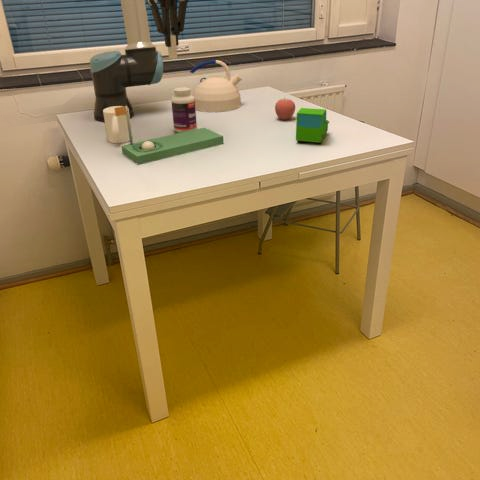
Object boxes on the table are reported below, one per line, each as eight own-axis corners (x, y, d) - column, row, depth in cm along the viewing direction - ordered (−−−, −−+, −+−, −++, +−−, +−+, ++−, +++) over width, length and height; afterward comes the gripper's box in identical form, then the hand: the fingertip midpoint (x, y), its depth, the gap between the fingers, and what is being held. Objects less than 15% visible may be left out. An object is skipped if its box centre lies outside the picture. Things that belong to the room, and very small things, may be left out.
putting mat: (122, 153, 149) (121, 145, 148) (204, 134, 164) (204, 127, 162) (138, 164, 141) (137, 156, 139) (223, 143, 155) (223, 136, 154)
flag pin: (120, 146, 147) (114, 107, 141) (132, 144, 149) (126, 105, 143) (121, 147, 147) (115, 108, 141) (133, 144, 149) (127, 106, 143)
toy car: (331, 133, 161) (333, 104, 156) (324, 146, 151) (326, 114, 145) (301, 131, 164) (302, 102, 159) (292, 143, 154) (293, 112, 148)
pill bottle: (193, 134, 164) (190, 92, 157) (171, 134, 165) (166, 91, 158) (199, 127, 171) (196, 86, 163) (178, 127, 172) (174, 86, 165)
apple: (272, 121, 176) (272, 99, 172) (278, 115, 181) (278, 94, 177) (291, 122, 173) (292, 100, 169) (297, 117, 179) (297, 95, 175)
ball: (147, 156, 150) (137, 149, 147) (153, 146, 151) (143, 138, 148) (153, 156, 147) (142, 149, 144) (159, 145, 147) (149, 138, 145)
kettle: (242, 112, 188) (240, 63, 179) (189, 113, 188) (185, 65, 179) (242, 99, 205) (241, 54, 196) (194, 100, 206) (191, 56, 197)
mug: (129, 105, 160) (126, 114, 150) (133, 135, 165) (130, 146, 155) (104, 106, 159) (99, 116, 149) (109, 136, 165) (104, 147, 154)
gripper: (150, -30, 127) (159, 62, 139) (192, -32, 133) (197, 57, 145) (138, -31, 132) (148, 58, 144) (179, -33, 138) (185, 53, 151)
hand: (173, 57), depth 145 cm, fingers closed
